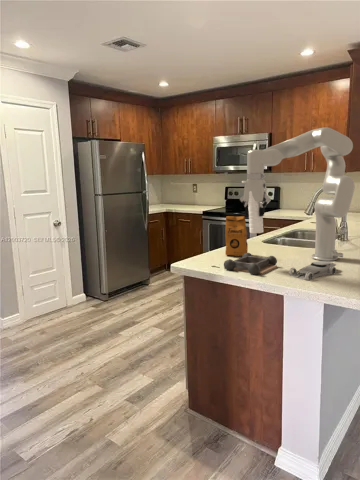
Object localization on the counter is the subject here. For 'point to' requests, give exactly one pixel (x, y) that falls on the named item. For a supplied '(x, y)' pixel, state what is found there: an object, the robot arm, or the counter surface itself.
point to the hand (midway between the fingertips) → (254, 215)
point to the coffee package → (236, 236)
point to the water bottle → (254, 215)
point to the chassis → (251, 264)
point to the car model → (314, 270)
